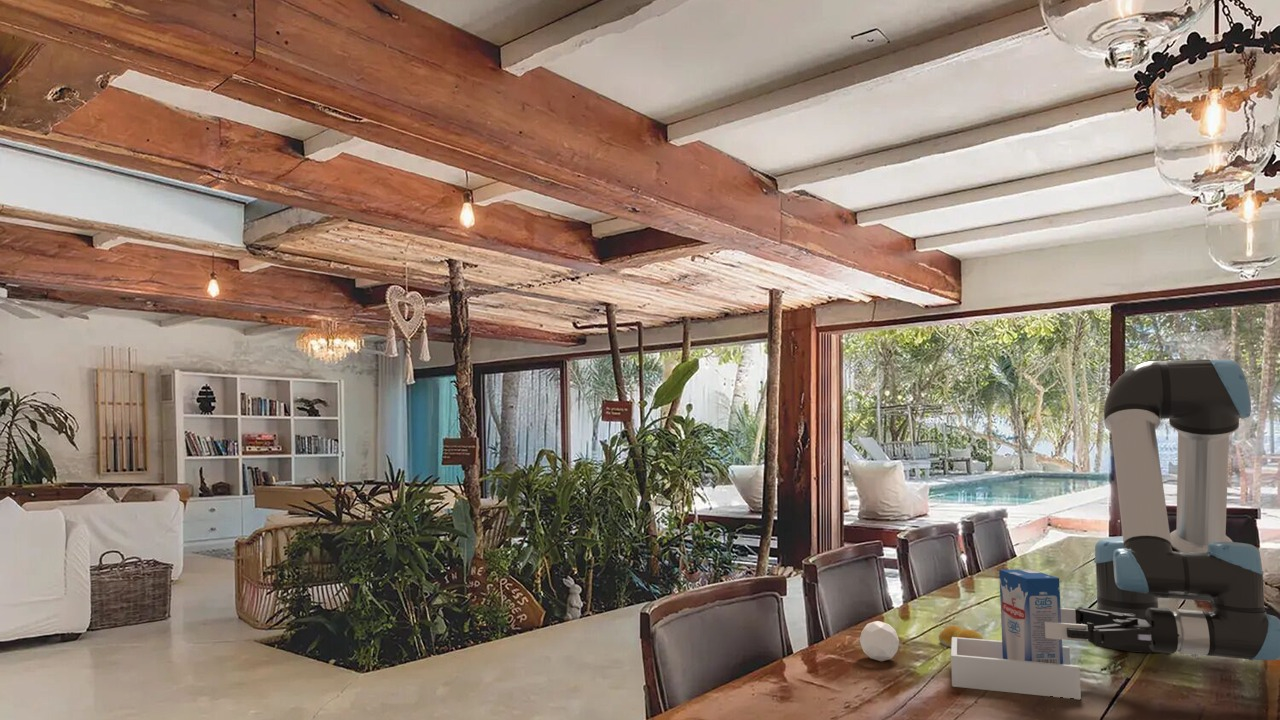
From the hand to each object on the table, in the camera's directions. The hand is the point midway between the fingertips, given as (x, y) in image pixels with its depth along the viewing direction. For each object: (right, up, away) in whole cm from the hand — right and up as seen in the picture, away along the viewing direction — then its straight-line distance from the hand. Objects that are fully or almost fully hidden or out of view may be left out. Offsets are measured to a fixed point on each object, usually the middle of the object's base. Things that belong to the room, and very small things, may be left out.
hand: (1040, 621), depth 152 cm
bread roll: (-4, -14, +28) cm, 32 cm away
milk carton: (-1, -12, 0) cm, 12 cm away
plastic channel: (-5, -12, +2) cm, 13 cm away
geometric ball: (-25, -13, +17) cm, 33 cm away
